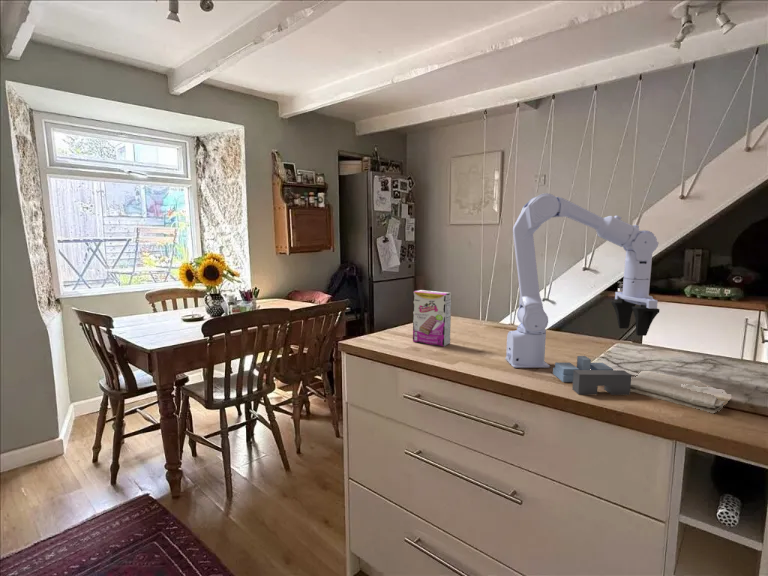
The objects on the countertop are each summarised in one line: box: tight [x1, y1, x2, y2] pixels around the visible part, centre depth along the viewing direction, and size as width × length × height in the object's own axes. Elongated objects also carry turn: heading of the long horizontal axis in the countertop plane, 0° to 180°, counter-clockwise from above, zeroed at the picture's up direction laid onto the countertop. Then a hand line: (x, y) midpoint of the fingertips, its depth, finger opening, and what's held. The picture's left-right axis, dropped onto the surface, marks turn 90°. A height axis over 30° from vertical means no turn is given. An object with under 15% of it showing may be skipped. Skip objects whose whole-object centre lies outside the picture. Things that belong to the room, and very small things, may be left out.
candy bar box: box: [412, 289, 452, 347], centre depth 132 cm, size 11×5×16 cm, turn 58°
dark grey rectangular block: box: [572, 369, 632, 396], centre depth 92 cm, size 11×3×4 cm, turn 89°
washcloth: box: [630, 370, 725, 414], centre depth 91 cm, size 12×18×3 cm, turn 40°
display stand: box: [552, 355, 614, 383], centre depth 101 cm, size 12×6×5 cm, turn 90°
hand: (632, 331), depth 107 cm, fingers open, 7 cm apart
